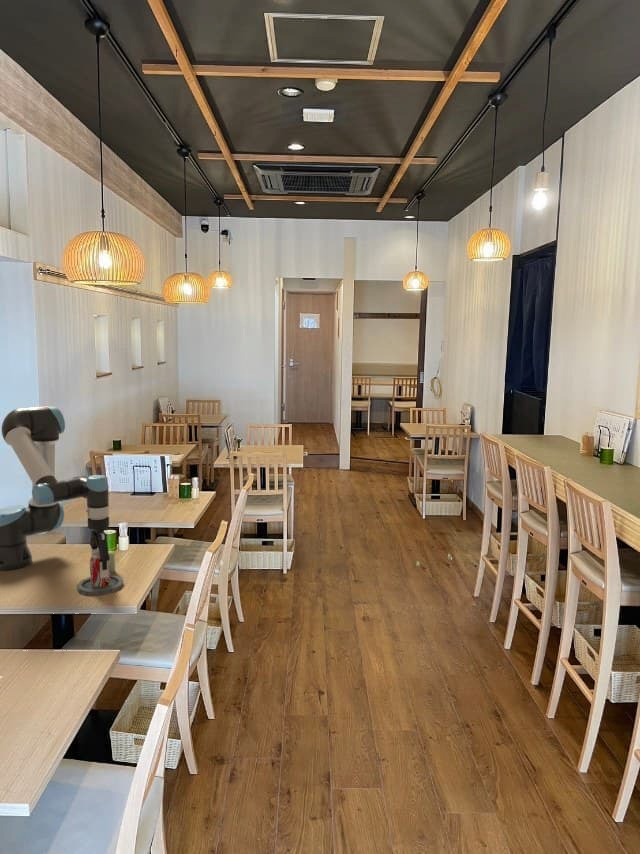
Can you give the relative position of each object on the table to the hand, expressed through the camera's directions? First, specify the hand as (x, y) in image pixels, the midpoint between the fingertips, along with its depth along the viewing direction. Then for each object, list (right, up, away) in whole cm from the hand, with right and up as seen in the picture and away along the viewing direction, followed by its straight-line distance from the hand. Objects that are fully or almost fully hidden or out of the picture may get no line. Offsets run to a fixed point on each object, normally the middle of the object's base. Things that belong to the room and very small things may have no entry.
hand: (100, 571), depth 229 cm
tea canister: (-2, -4, +15) cm, 15 cm away
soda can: (0, -5, +1) cm, 5 cm away
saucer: (0, -6, +1) cm, 6 cm away
